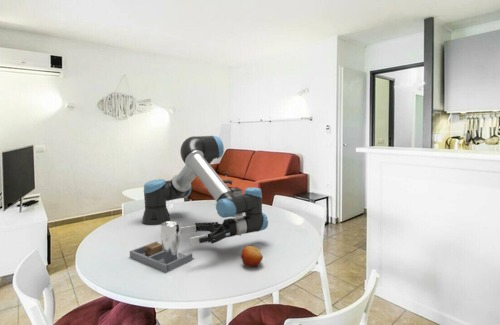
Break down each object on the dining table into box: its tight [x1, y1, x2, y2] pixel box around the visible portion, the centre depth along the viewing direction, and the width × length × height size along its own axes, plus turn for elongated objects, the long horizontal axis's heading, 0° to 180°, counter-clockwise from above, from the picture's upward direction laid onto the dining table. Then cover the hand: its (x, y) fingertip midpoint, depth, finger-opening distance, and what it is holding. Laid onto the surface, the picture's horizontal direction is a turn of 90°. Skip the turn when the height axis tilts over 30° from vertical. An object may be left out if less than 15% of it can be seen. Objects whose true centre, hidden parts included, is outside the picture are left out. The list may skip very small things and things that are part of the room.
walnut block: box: [144, 241, 163, 257], centre depth 118 cm, size 5×5×4 cm
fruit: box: [240, 245, 263, 268], centre depth 109 cm, size 8×8×8 cm
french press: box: [222, 171, 234, 188], centre depth 199 cm, size 12×9×23 cm
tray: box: [129, 241, 196, 274], centre depth 115 cm, size 23×14×3 cm, turn 54°
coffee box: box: [229, 186, 243, 218], centre depth 176 cm, size 9×6×16 cm
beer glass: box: [160, 220, 181, 264], centre depth 111 cm, size 7×7×15 cm
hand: (184, 236), depth 113 cm, fingers open, 13 cm apart
